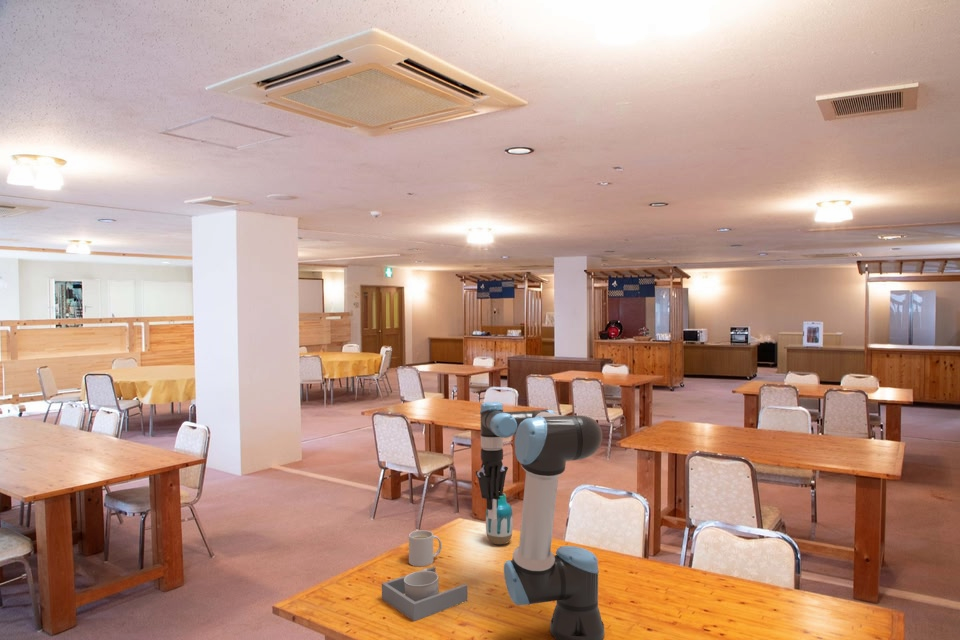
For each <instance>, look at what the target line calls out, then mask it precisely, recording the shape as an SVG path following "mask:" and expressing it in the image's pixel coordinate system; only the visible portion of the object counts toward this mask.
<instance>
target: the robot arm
mask: <svg viewBox="0 0 960 640" xmlns="http://www.w3.org/2000/svg"><path fill="white" fill-rule="evenodd" d="M503 407H504V406H503V403H502V402H500V401H485V402H482V403H481V404H480V413H479V414H480V447H481V449H480V460H481V465H480V469H479V470H477V471H475V476H476V478H477V479H478V480H477V481H478V484H479V485H478V486H479V491H480V496H481V499H484V500H486V509H488V518H489V519H492V520H495V519H497V508H498V499H500V497H499V496H502V495H503V493H504V488H505V482H506V475H507V472H508V470H509V467H508V466H505V465H504V464H503V463H504V462H503V459H504V449H503V447H504V439H507V438H511V437H512V436H515V437H514V447H515V448H514V455H515V458H516V460H517V462H519V463H520V466H521V468H522V469H523V470H524V472H525V480H524V488H523V489H524V491H523V501H522V503H523V504H522V509H521V510H522V512H521V522H520V523H521V524H520V531H519V532H520V534H519V543H518V545H519V546H517V547H516V548H515V549H514V550H513V551H512V558H511V559H509V560H506V561H505V562H504V565H503V574H504V575H503V576H504V581H505V585H506V589H507V593H508V595H509V598H510V600H511V601H512V603H514V604H515V605H517V606H526V605H527V606H530V605H535V604H540V603H541V604H542V603H549V602H555V601H556V603H555V604H556V605H555V606H554V610H553V613H552V616H551V620H550V624H549V625H550V626H549V627H550V628H549V630H550V634H551V636H552V637H553V638H554V639H555V640H603V639H604V638H605V624H604V621H603V620H602V616H601V612H600V609H599V608H600V607H599V573H600V570H599V563H598V557H597V556H596V555H595V553H593V552H592V551H590V550H588V549H585V548H582V547H580V546H579V547H578V546H574V545H561V546H559V547H557V549H556V551H555V554H554V553H553V551H551V549H552V539H553V531H554V528H553V527H554V519H555V510H556V503H557V501H556V500H557V493H558V483H559V476H561V475H562V474H564V472H565V471H566V463H567V462H570V461H579V460H584V459H587V458H590V457H592V456H593V455H594V454H595V453H596V452H597V451H599V448H600V446H601V444H602V441H603V430H602V428H601V425H600V424H599V422H597V421H596V420H595V419H593V418H592V417H589V416H586V415H579V414H578V415H577V414H573V415H562V414H557V413H555V411H554V410H552V409H539V410H536V409H535V410H519V411H518V410H516V411H515V410H514V411H504V408H503Z"/></svg>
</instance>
